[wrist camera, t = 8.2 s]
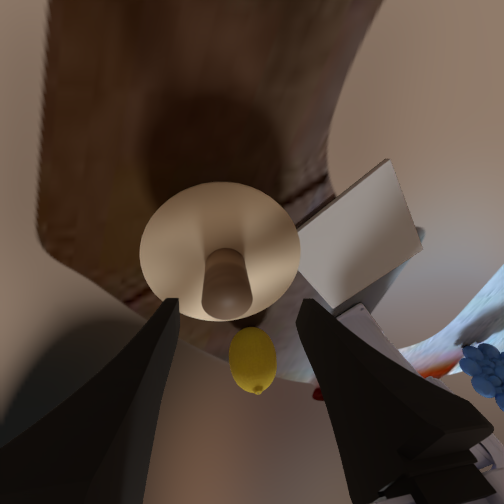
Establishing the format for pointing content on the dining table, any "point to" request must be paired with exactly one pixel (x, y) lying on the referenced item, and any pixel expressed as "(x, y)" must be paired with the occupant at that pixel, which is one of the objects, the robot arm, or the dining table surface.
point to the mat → (358, 236)
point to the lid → (220, 251)
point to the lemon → (252, 359)
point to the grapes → (485, 370)
